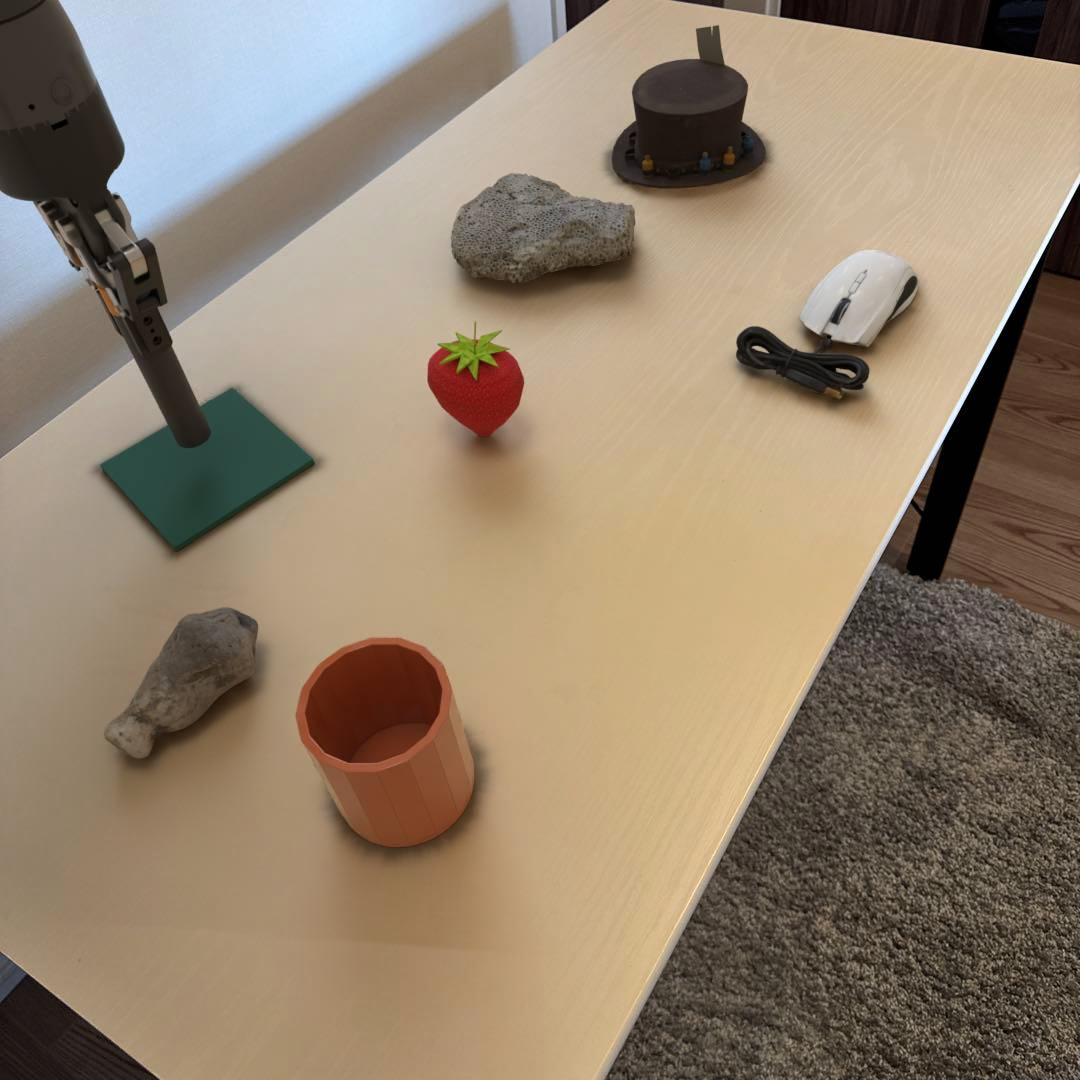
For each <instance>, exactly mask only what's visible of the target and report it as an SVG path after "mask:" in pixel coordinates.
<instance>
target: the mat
mask: <svg viewBox="0 0 1080 1080" xmlns="http://www.w3.org/2000/svg"><path fill="white" fill-rule="evenodd" d="M200 408H201V410H202V412H203V414H204V416H205V418H206V421H207V423H208V425H209V427H210V429H211V435H210V437H209V439H208V440H207V441H206V442H205V443H203V444H202V445H200V446H198V447H194V448H183V447H181V446H179V445H178V444H177V442H176V440H175V438H174V436H173V434H172V432H171V430H170V428H169V426H168V424H167V425H165V426H163V427H162V428H160V429H159V430H157V431H155V432H154V433H151V434H150V435H148V436H146V437H145V438H143V439H141V440H139V441H138V442H135V444H133V445H130V446H129V447H127V448H126V449H124V450H122V451H121V452H119V453H117V454H116V455H114V456H112V457H110V458H108V459H107V460H105V461H104V462H102V463H100V464H99V467H100V468H101V470H102V471H103V472H104V474H106V475H107V477H108V478H109V479H110V480H111V481H112V482H113V484H115V486H116V487H117V488H118V489H119V490H120V491H121V492H122V493H123V494H124V496H126V498H127V499H128V501H130V502H131V503H132V504H133V505H134V507H135V508H136V509H137V510H138V511H139V513H141V514H142V516H144V518H145V519H146V520H147V522H149V524H151V525H152V527H153V528H154V530H156V531H157V532H158V533H159V534H160V535H161V537H162V538H163V539H164V540H165V541H166V543H168V544H169V545H170V547H171V548H172V549H173V550H174V551H175V552H178V551H181V550H182V549H183V548H185V547H187V546H188V545H190V544H191V543H193V542H194V541H196V540H197V539H199V538H201V537H202V536H204V535H205V534H207V533H208V532H210V531H211V530H213V529H215V528H216V527H218V526H219V525H221V524H222V523H224V522H225V521H227V520H229V519H231V518H232V517H233V516H235V515H236V514H238V513H239V512H241V511H242V510H244V509H246V508H247V507H249V506H251V505H252V504H253V503H256V502H257V501H258V500H260V499H262V498H263V497H264V496H266V495H268V494H269V493H271V492H272V491H274V490H276V489H277V488H278V487H281V486H282V485H283V484H285V483H286V482H288V481H290V480H291V479H293V478H294V477H296V476H298V475H299V474H300V473H302V472H303V471H305V470H307V469H309V468H310V467H312V466H313V465H315V463H316V462H315V459H314V458H313V457H312V456H311V455H310V454H308V453H307V451H305V450H304V449H303V448H302V447H301V446H299V445H298V444H297V443H296V442H295V441H294V440H292V439H291V438H290V437H289V436H288V435H287V434H286V433H285V432H284V431H282V430H281V429H280V428H279V427H278V426H276V425H275V423H274V422H272V421H271V420H270V419H269V418H268V417H267V416H266V415H264V414H263V413H262V412H261V411H260V410H259V409H257V408H256V406H254V405H253V404H252V403H251V402H250V401H248V400H247V399H246V398H245V397H244V396H243V395H242V394H241V393H240V392H238V391H237V390H236V389H235V388H233V387H231V388H229V389H227V390H225V391H224V392H222V393H220V394H219V395H216V396H214V397H213V398H211V399H210V400H208V401H206V402H205V403H202V405H200Z"/></svg>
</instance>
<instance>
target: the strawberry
mask: <svg viewBox="0 0 1080 1080" xmlns="http://www.w3.org/2000/svg"><path fill="white" fill-rule="evenodd" d="M473 325H474V326H473V327H474V328H473V329H474V330H473V331H474V332H473V333H474V334H473V339H472V338H469V337H467V336H465V335H463V334H461V333H460V332H459V333H458V332H455V337H456V338H457V340H454V341H451V342H439V343H437V346H439V347H440V348H439V349H438V350H436V351H435V352H434V353H433V354H432V355H431V357H430V358H429V359H428V363H427V375H426V381H427V384H428V387H429V389H430V391H431V393H432V394H433V396H434V398H435V399H436V401H437V402H438V404H439V405H440V407H441V408H442V409H443V410H444V411H445V412H446V413H447V414H449V415H450V416H451V417H452V418H453V419H455V421H457V422H458V423H459V424H461V425H462V426H464V427H466V428H467V429H469V430H470V431H472V432H473V433H474V434H476V435H477V436H479V437H489V436H491V435H492V434H494V433H495V432H496V431H497V430H498V429H499V428H501V427H502V426H503V425H505V424H506V423H507V421H508V420H509V419H510V418H511V417H512V416H513V414H514V413H515V411H517V409H518V408H519V406H520V403H521V400H522V395H523V393H524V392H523V391H524V388H525V377H524V375H523V372H522V369H521V367H520V364H519V361H518V360H517V359H516V358H515V356H514V355H513V354H511V353H510V352H509V350H511V348H510V347H506V346H505V347H504V346H502V345H498V344H495V343H493V342H492V341H493V340H494V339H495V338H496V337H497V336H498V335H499V334H500V333H502V331H503V330H502V329H501V330H500V329H499V330H496V331H493V332H490V333H486V334H483V335H480V337H479V339H477V321H476V320H475V321H474V324H473Z"/></svg>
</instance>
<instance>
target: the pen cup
mask: <svg viewBox="0 0 1080 1080" xmlns="http://www.w3.org/2000/svg"><path fill="white" fill-rule="evenodd" d="M295 720H296V725H297V730H298V734H299V738H300V741H301V743H302V745H303V747H304V748H305V751H306V752H307V754H308V756H309V758H310V760H311V762H312V763H313V766H314V768H315V769H316V771H317V772H318V774H319V776H320V778H321V780H322V782H323V784H324V785H325V787H326V790H327V791H328V793H329V795H330V796H331V798H332V800H333V802H334V804H335V806H336V808H337V810H338V812H339V813H340V815H341V816H342V817H343V818H344V820H345V821H346V823H347V824H348V825H349V827H350V828H351V829H352V830H353V831H354V833H356V834H357V835H359V836H360V837H362V838H363V839H365V840H367V841H369V842H370V843H373V844H375V845H379V846H384V847H388V848H407V847H412V846H413V847H414V846H417V845H420V844H424V843H426V842H429V841H430V840H431V841H432V840H433V839H435V838H436V837H439V836H440V835H441V834H442V833H444V832H446V831H447V830H448V829H450V827H451V826H453V825H454V824H455V823H456V822H457V820H458V819H459V818H460V817H461V816H462V815H463V812H464V811H465V810H466V808H467V806H468V804H469V802H470V800H471V798H472V794H473V791H474V785H475V762H474V759H473V756H472V753H471V748H470V745H469V741H468V739H467V735H466V731H465V728H464V725H463V721H462V718H461V714H460V711H459V707H458V704H457V701H456V698H455V694H454V689H453V687H452V684H451V682H450V678H449V675H448V673H447V669H446V666H445V665H444V663H443V662H442V661H441V660H440V659H439V658H438V657H437V656H436V655H435V654H434V653H433V652H432V651H431V650H430V649H428V648H427V646H425V645H423V644H420V643H418V642H415V641H412V640H409V639H406V638H403V637H399V636H377V637H375V636H374V637H373V636H372V637H367V638H364V639H362V640H358V641H356V642H353V643H350V644H346V645H344V646H342V647H340V648H339V649H337V650H336V651H334V652H333V653H331V655H329V656H328V657H326V658H324V660H322V661H321V662H320V663H318V664H317V666H316V667H315V668H314V670H313V672H312V673H311V674H310V675H309V677H308V678H307V680H306V681H305V682H304V684H303V686H302V687H301V689H300V693H299V697H298V701H297V706H296V709H295Z"/></svg>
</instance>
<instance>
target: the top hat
mask: <svg viewBox="0 0 1080 1080" xmlns="http://www.w3.org/2000/svg"><path fill="white" fill-rule="evenodd" d="M695 35H696V45H697V51H698V57H699V58H683V59H674V60H670V61H665V62H663V63H660V64H657V65H654V66H652V67H651V68H648V69H647V70H646V71H644V72H643V73H642V74H640V76H638V78H636V80H635V81H634V83H633V84H632V89H631V95H632V96H631V98H632V102H633V109H634V116H635V120H634V121H633V122H631V123H630V124H629V125H628V126H626V128H625V129H624V130H623V131H622V132H621V133H620V135H619V136H618V137H617V139H616V141H615V143H614V145H613V147H612V152H611V164H612V169H613V171H614V172H615V173H616V175H617V176H618V177H619V178H621V179H622V180H623V181H625V182H628V183H630V184H633V185H635V186H640V187H645V188H651V189H660V190H662V189H663V190H677V189H678V190H679V189H693V188H694V189H695V188H703V187H709V186H714V185H719V184H723V183H727V182H731V181H735V180H738V179H740V178H743V177H745V176H748V175H749V174H752V173H753V172H755V171H756V170H758V169H759V168H760V167H761V166H762V165H763V164H764V162H765V160H766V156H767V155H766V153H767V150H766V146H765V143H764V142H763V140H762V139H761V137H760V136H759V134H758V133H757V132H756V131H755V130H754V129H753V128H752V127H750V126H749V125H748V124H746V123H745V122H744V121H743V118H744V112H745V107H746V103H747V97H748V93H749V84H748V81H747V79H746V78H745V77H744V76H743V74H742V73H740V72H739V71H737V70H736V69H735V68H733V67H730V66H729V65H727V64H726V63H725V59H724V53H723V49H722V42H721V40H722V39H721V31H720V25H719V24H717V25H712V26H711V25H710V26H703V27H698V28H697V27H696V28H695Z"/></svg>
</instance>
